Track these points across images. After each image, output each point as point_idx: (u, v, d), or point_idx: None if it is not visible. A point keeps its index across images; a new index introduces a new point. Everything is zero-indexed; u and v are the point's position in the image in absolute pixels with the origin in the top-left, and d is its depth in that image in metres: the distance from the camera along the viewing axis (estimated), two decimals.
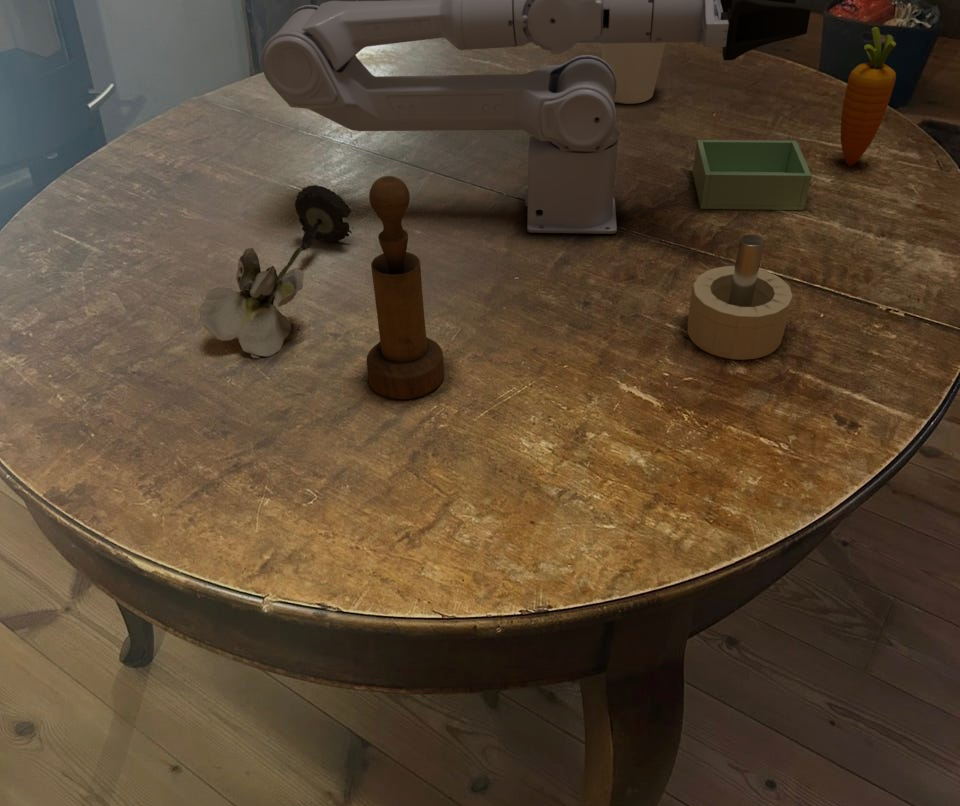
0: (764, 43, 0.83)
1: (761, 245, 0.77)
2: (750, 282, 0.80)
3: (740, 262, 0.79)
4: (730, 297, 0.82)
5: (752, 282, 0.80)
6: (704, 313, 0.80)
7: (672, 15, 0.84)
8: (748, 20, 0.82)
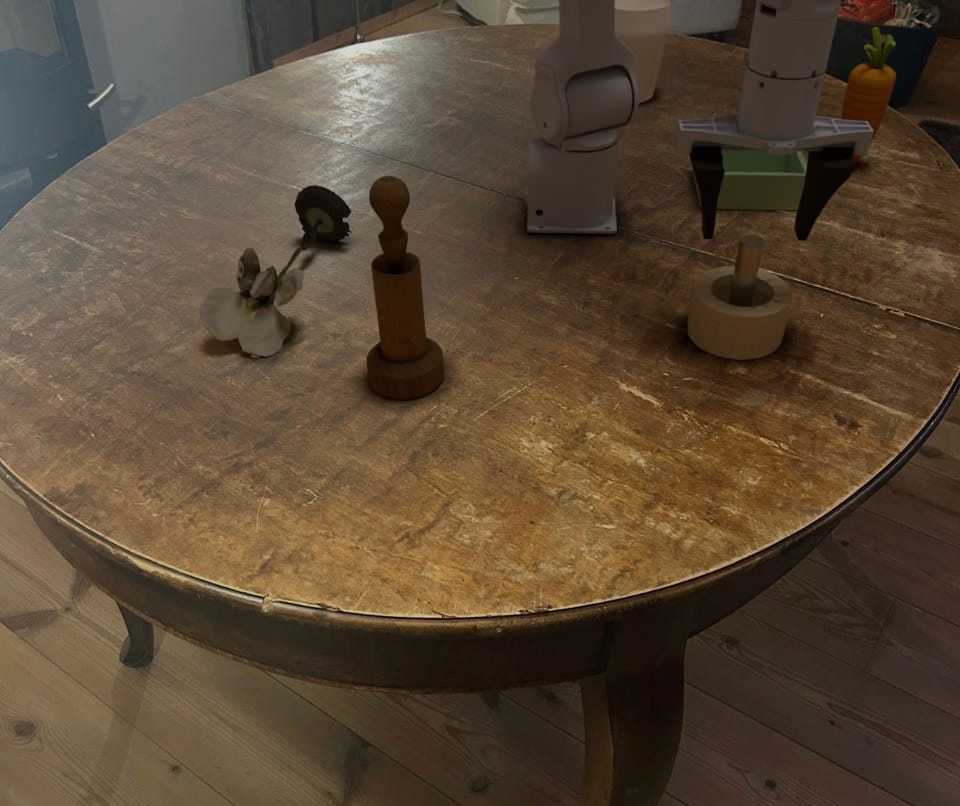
0: None
1: (761, 245, 0.77)
2: (750, 282, 0.80)
3: (740, 262, 0.79)
4: (730, 297, 0.82)
5: (752, 282, 0.80)
6: (704, 313, 0.80)
7: (743, 91, 0.70)
8: None
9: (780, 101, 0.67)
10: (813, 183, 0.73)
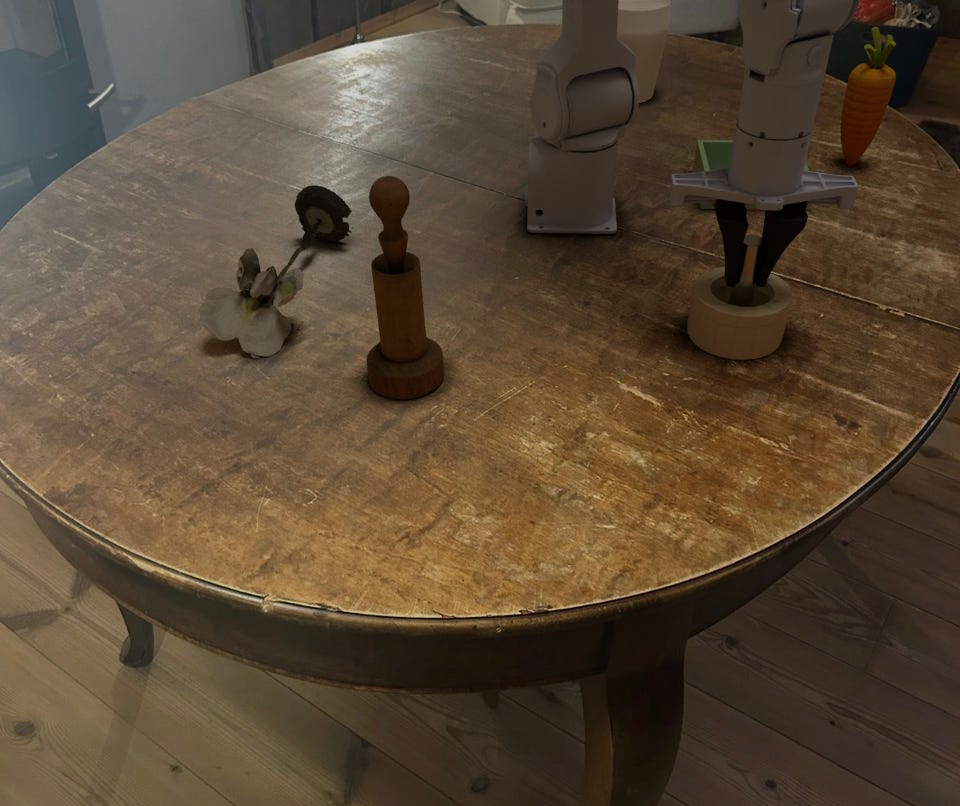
0: None
1: (761, 245, 0.77)
2: (751, 282, 0.80)
3: (740, 262, 0.79)
4: (730, 297, 0.82)
5: (752, 282, 0.80)
6: (704, 313, 0.80)
7: (733, 149, 0.73)
8: None
9: (768, 160, 0.70)
10: (769, 233, 0.76)
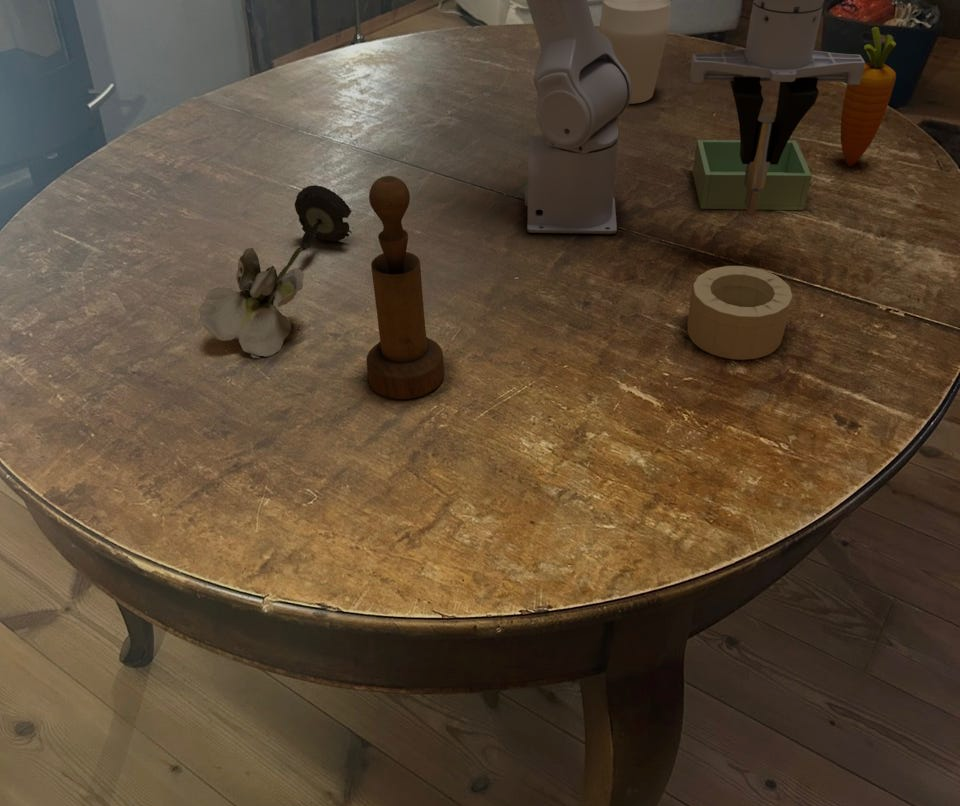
0: None
1: (775, 122, 0.84)
2: (764, 160, 0.86)
3: (755, 140, 0.85)
4: (745, 176, 0.88)
5: (766, 159, 0.86)
6: (704, 313, 0.80)
7: (750, 26, 0.79)
8: None
9: (782, 33, 0.77)
10: (783, 110, 0.83)
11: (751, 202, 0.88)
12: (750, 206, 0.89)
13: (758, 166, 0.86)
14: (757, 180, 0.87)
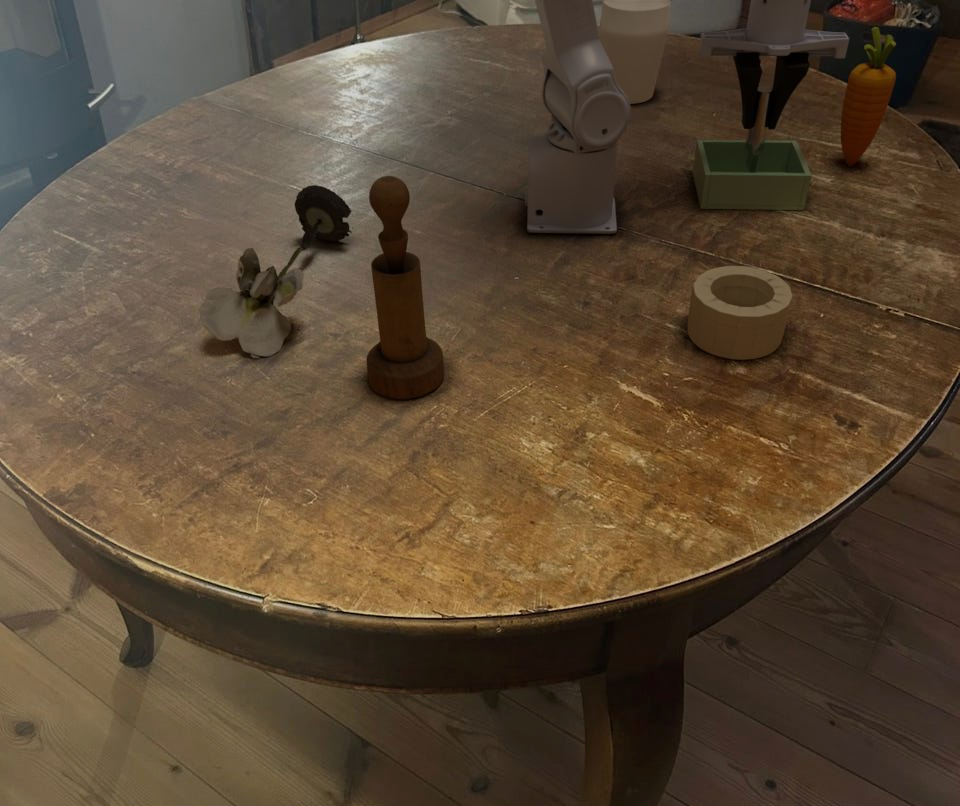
0: (740, 85, 0.99)
1: (772, 92, 0.97)
2: (763, 125, 0.99)
3: (755, 108, 0.98)
4: (747, 140, 1.01)
5: (765, 125, 0.99)
6: (704, 313, 0.80)
7: (751, 8, 0.92)
8: None
9: (778, 14, 0.90)
10: (779, 81, 0.96)
11: (752, 163, 1.02)
12: (751, 166, 1.02)
13: (758, 131, 1.00)
14: (757, 143, 1.00)
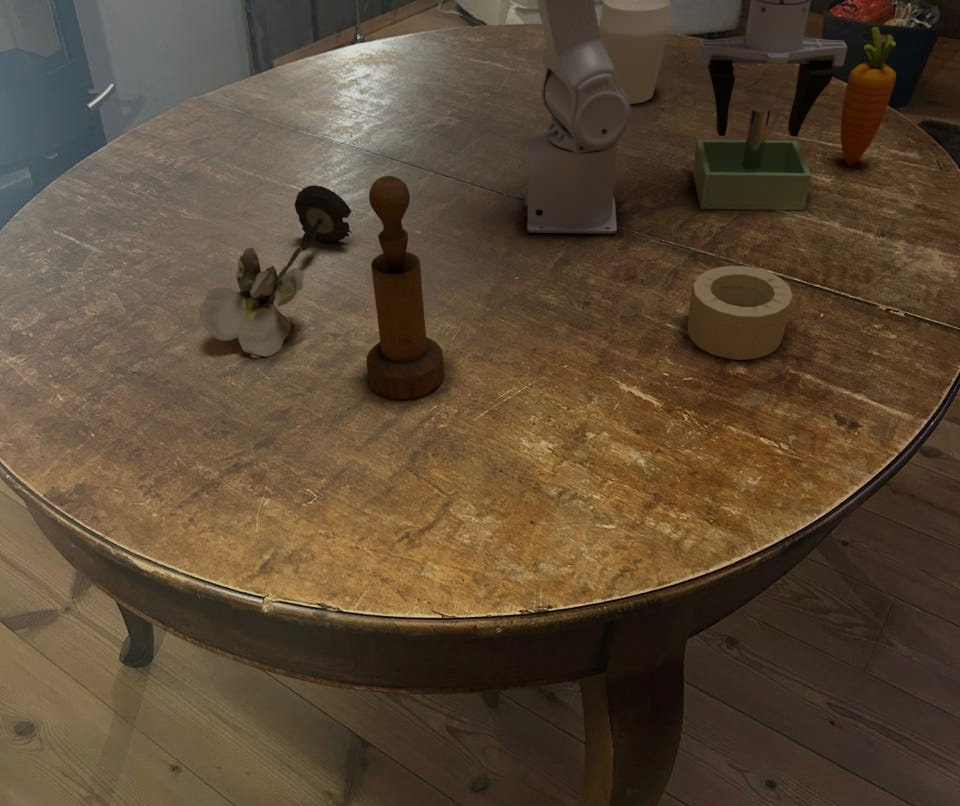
0: (714, 92, 1.00)
1: (768, 112, 0.98)
2: (760, 144, 1.01)
3: (752, 127, 1.00)
4: (743, 158, 1.02)
5: (761, 144, 1.01)
6: (704, 313, 0.80)
7: (749, 16, 0.93)
8: None
9: (777, 22, 0.90)
10: (802, 89, 0.96)
11: None
12: None
13: (754, 149, 1.01)
14: (754, 162, 1.02)
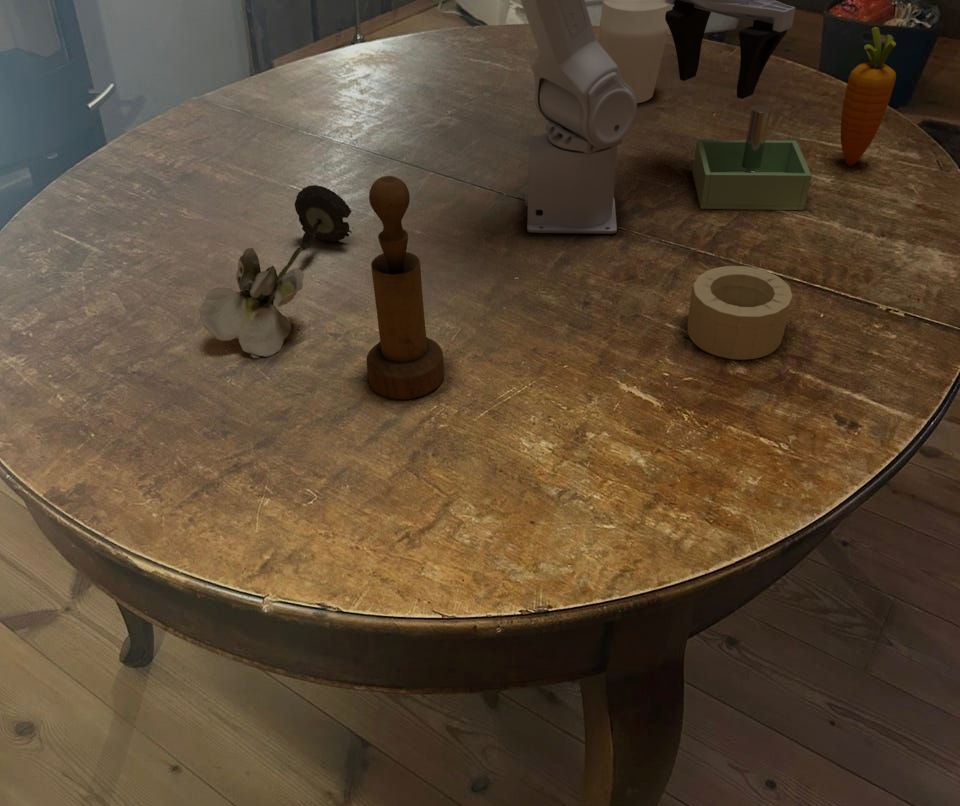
0: (751, 66, 0.95)
1: (768, 112, 0.98)
2: (760, 144, 1.01)
3: (752, 127, 1.00)
4: (743, 158, 1.02)
5: (761, 144, 1.01)
6: (704, 313, 0.80)
7: None
8: None
9: None
10: (699, 29, 1.00)
11: None
12: None
13: (754, 149, 1.01)
14: (754, 162, 1.02)
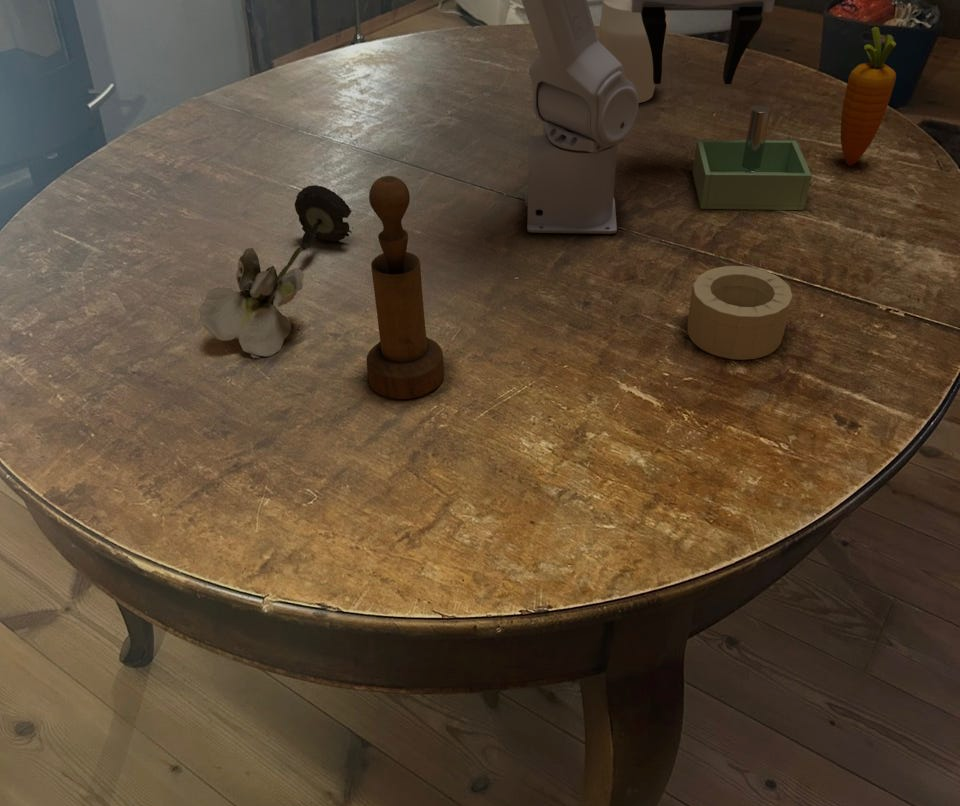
0: (744, 50, 0.98)
1: (768, 112, 0.98)
2: (760, 144, 1.01)
3: (752, 127, 1.00)
4: (743, 158, 1.02)
5: (761, 144, 1.01)
6: (704, 313, 0.80)
7: None
8: None
9: None
10: None
11: None
12: None
13: (754, 149, 1.01)
14: (754, 162, 1.02)
